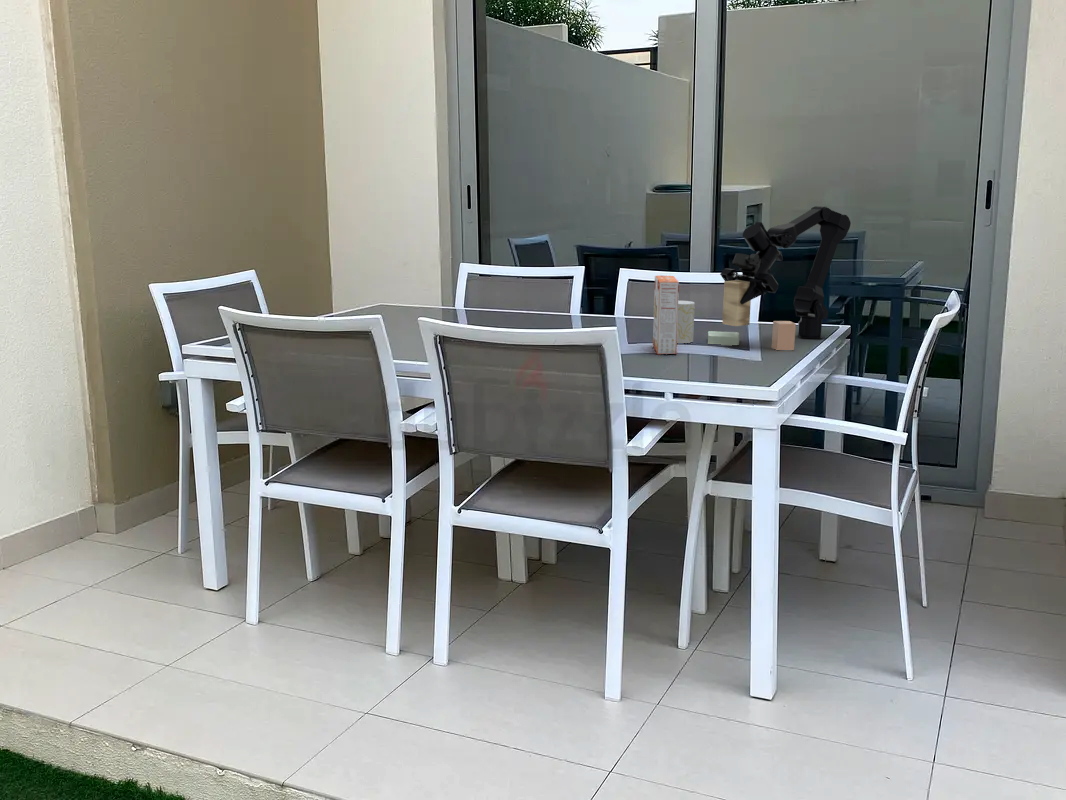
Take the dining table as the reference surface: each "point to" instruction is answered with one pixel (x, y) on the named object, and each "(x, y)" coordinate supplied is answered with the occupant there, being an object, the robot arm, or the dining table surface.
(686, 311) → the cup
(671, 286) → the cracker box
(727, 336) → the sage slab
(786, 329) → the terracotta block
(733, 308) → the oak block
